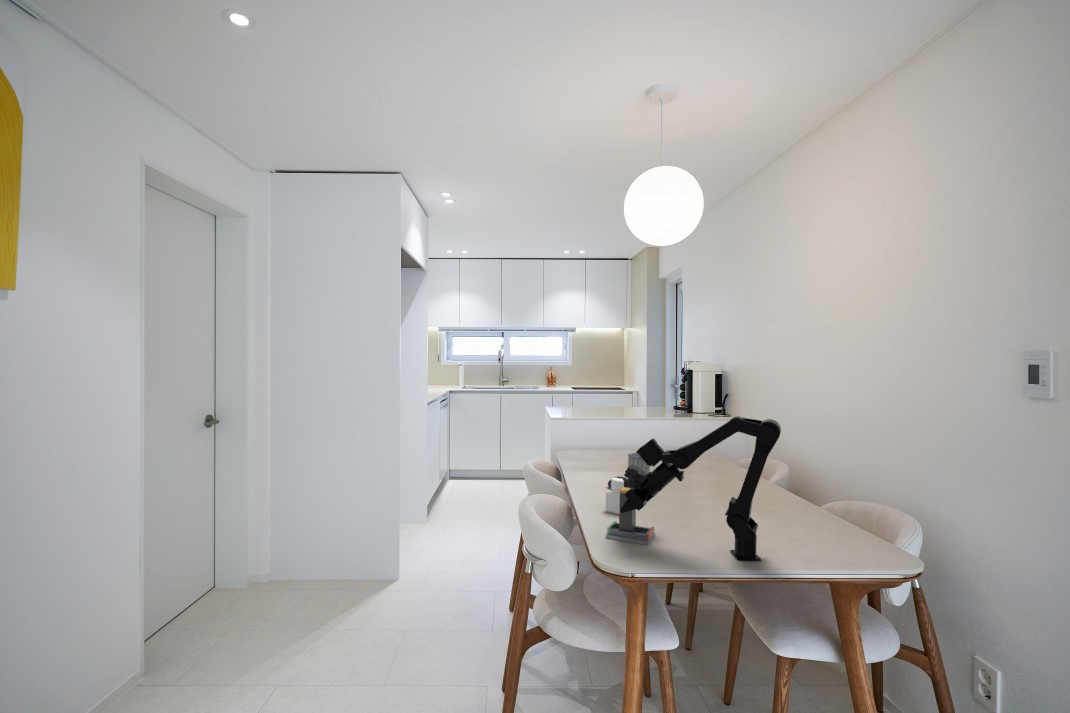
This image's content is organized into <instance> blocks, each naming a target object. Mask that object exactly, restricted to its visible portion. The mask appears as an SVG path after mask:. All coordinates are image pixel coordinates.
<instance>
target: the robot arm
mask: <svg viewBox="0 0 1070 713" xmlns="http://www.w3.org/2000/svg"><path fill="white" fill-rule="evenodd" d="M736 433H741V434H744V435H748V436H751V437H756V438H755V446H754V452H753V455H752V457H751V460H750V463H749V466H748V469H747V472H746V475H745V477H744V480H743V482H742V483H743V484H742V486H741V488H740V491H739V494H738V495H737V498H735V497H734V496H731V498H730V500H729V503H728V508H727V509H726V511H725V514H724V516H726V519H725V520H726V523H727V527H729V528H730V529H731V530H732V532H733V534H734V535H733V536H734V549H730V551H729V552H730V553H731V554H732V556H734V558H735V559H736V560H738V561H761V560H762V558H761V557H760V556H759V555H758V554H757V540H758V539H757V538H758V536H757V531H758V527H759V524H758V523H757V522H756V521H755V519H754V518H752V516H751V514H752V507H753V499H754V496H755V493H756V491H757V487H758V485H759V481H760V479H761V476H762V473H763V470H764V467H765V465H766V462H767V461H768V460H767V459H768V457H769V455H770V453H771V451H772V450H773V449H774V447H775V445H776V444H777V441H778V440H779V438H780V435H781V433H782V427H781V424H779V422H778V421H777V420H774V419H772V418H767V419H765V420H759V419H755V418H754V419H753V418H746V417H743V416H742V417H741V416H738V415H737V416H733V417H732V418H731V419H730V420H728V421H726V422H725V423H724V424H722V425H721V426H719V427H718V428H716V429H715V430H713V431H711V432H710V433H707V434H706V435H705V436H703V437H702V438H700V439H698V440H696V441H694V442H690V443H688V444H685V445H683V446H680V447H678V448H677V449H674V450H673V449H672V450H670V449H669V450H666V451H665V450H664V449H663V448H662V447H661V446H660V445H659V444H658V442H657V440H656V439H655V438H651V439H649V441H647V442H646V443H644V444H643V445H642V446H640V448H638V449H637V450H636V451H635V453H637V454H638V455H639V456H640V457H641V459H642V460H643V461H644V462H645V463H646V464H647V465H648V466H650V468H651V467H652V468H654V467H655V468H654V469H653V470H652V471H650V472H649V473H648V474H647V473H646V472H644V471H643V470H641V469H640V468H638V467H636V466H635V465H630V466H627V468H626V469H625V471H624V474H623V477H625V478H627V479H628V478H629V479H631V480H633V481H634V482H636V483H637V484H636V486H635V488H631V489H630V490H629V491H627V492H626V493H625V496H626V497H627V498H628V499H627V501H626V502H625V504H624V505H623V507H622V508H621V509H620V511H621V512H622V513H624V512H628V511H632V510H636V511H639V512H640V511H641V510H643V508H644V507H645V506H647V503H648V502H649V501H650V500H652V499H653V498H654V497H655V496H656V495H658V494H659V492H661V491H662V490H663V489H665V487H667V486H668V485H669V484H670V483H671V482H672V481H674V480H675V479H677V480H678V482H682V481H683V480H684V479H685V469H688V468H689V467H690V466H691V465H693V463H694V462H696V461H697V459H698V458H700V457H701V456H702V455H703V454H704V453H705V452H707V451H709V450H711V449H712V448H713V447H716V446H717V445H718V444H720V443H722V442H724V441H725V440H726V439H728V438H730V437H731V436H733V435H735V434H736ZM660 462H661V463H660ZM659 463H660V464H659ZM658 464H659V465H658ZM657 465H658V466H657Z"/></svg>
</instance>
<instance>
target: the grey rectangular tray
mask: <svg viewBox="0 0 1070 713" xmlns="http://www.w3.org/2000/svg"><path fill="white" fill-rule="evenodd" d="M655 537H656V532H655V526H651V527H646V526H641V525H640V526H639V525H636V530H635V532H630V531H624V530H619V522H618V521H616V520H613V522H611V523H610V524H609V525H608V526H607V528H606V534H605V538H606V539H608V540H609V539H611V540H615V541H616V540H617V541H620V542H627V543H632V544H639V545H643V546H649V544H650V543H651V542H652V541H653V539H654V538H655Z"/></svg>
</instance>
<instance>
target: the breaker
mask: <svg viewBox="0 0 1070 713" xmlns="http://www.w3.org/2000/svg"><path fill="white" fill-rule="evenodd" d="M630 489H631V488H625V487H623V488H622V489H621V490H620V506H619V514H618V516H619V517H618V520H619V521H618V523H619V530H624V531H630V532H635V530H636V526H637V525H636V518H637V516H636V514H637V509H636V510H632V511H628V512H624V513H622V512H621V511H620V509H621V508H622V507H623V505H624V504H625V502H626V501H627V499H628V498H627V497H626V496H625V493H626V492H627V491H629V490H630Z"/></svg>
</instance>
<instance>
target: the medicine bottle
mask: <svg viewBox="0 0 1070 713" xmlns="http://www.w3.org/2000/svg"><path fill="white" fill-rule="evenodd" d="M610 480H611V488H610V490H607V491H606V492H605V512H607V513H610V514H616V515H619V506H620V490H621V489H622V488H623V487H625V488H628V482H629V480H628V478H626V477H625V476H614V477H612V478H611V479H610Z"/></svg>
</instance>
